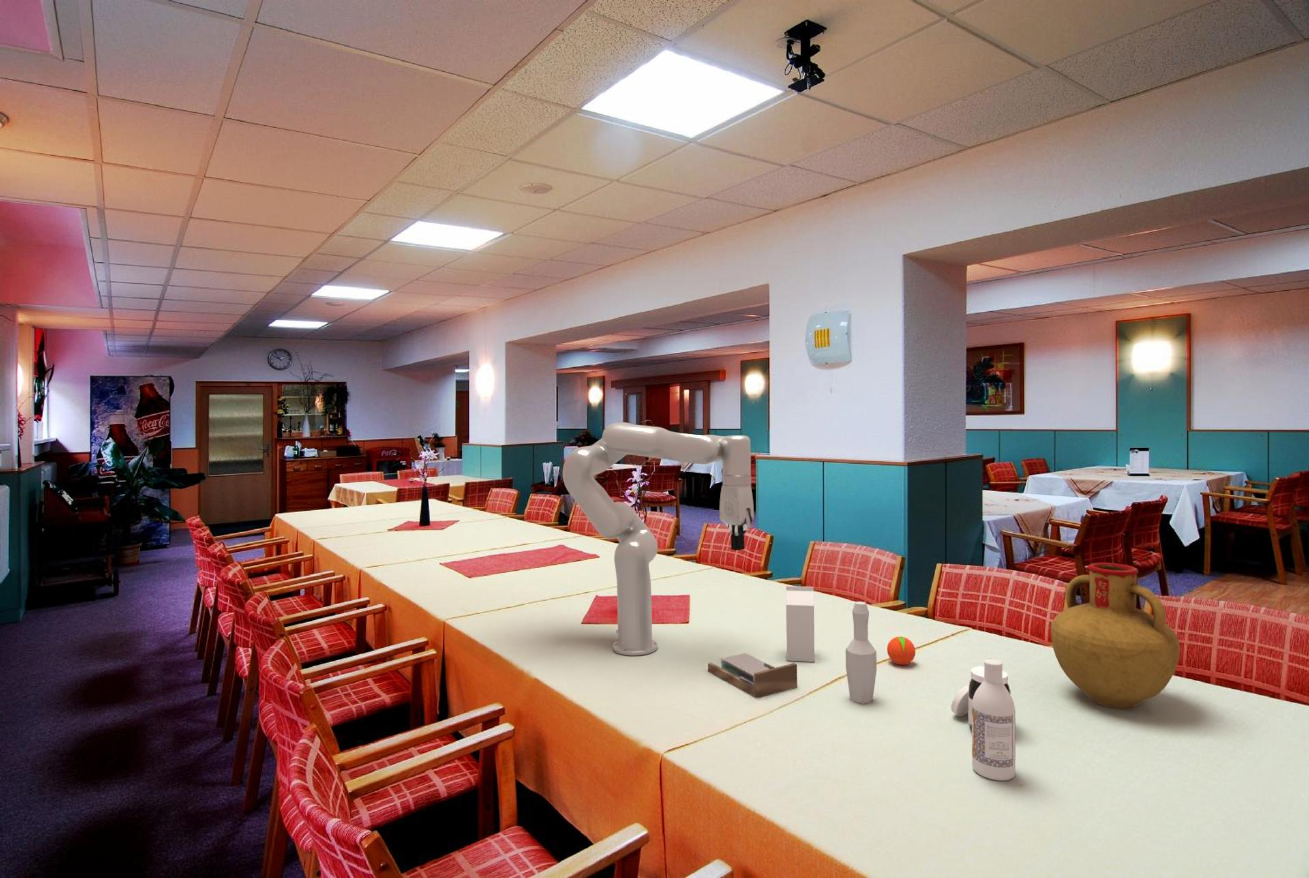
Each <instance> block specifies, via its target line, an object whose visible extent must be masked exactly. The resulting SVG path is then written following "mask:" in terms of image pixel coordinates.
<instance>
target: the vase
mask: <svg viewBox="0 0 1309 878" xmlns="http://www.w3.org/2000/svg"><path fill="white" fill-rule="evenodd" d="M1087 568H1088V571H1089V574H1082V575H1078V576H1076V577H1073V578H1072V579H1071V580H1070V582H1069V583H1068V584H1067V586H1066V590H1065V601H1066V605H1067V609H1064V610H1063V611H1061V612H1060V613H1058V614H1056V616H1054V618H1053V619H1052V622H1051V625H1050V636H1051V643H1052V645H1051V646H1052V649H1053V652H1054V655H1055V658H1056V660H1057V663H1058V664H1059V666H1060V668H1061V669H1062V671H1063V672H1064V674H1065V675H1066V677H1067V678H1068V679H1069V680H1070V681H1071V682H1072V683H1073V684H1074V685H1075V686H1076V687H1077V688H1078V689H1080V690H1081V691H1082V692H1083V693H1084V694H1086V695H1087V696H1088V698H1090V700H1092V701H1093V702H1095V703H1097V704H1099V705H1102V706H1105V707H1108V708H1109V707H1110V708H1113V709H1132V708H1134V707H1136V706H1138V705H1139V704H1141V703H1143V702H1145V701H1148V700H1150V699H1152V698H1154V697H1157V695H1159V694H1160V693H1161V692H1162V691H1163V690H1164V689H1165V688H1167V685H1168V684H1169V682H1170V681H1171V679H1172V677H1173V675H1174V674H1175V672H1176V669H1177V668H1178V667H1177V666H1178V663H1179V660H1180V653H1181V643H1180V640H1179V638H1178V636H1177V634H1176V632H1175V631H1174V630H1173V629H1172V628H1171V627H1170V626H1169V625H1168V624H1167V623H1166V619H1167V614H1166V610H1165V608H1164V605H1163V603H1162V601H1161V600H1160V599H1159V597H1158V596H1157V595H1156V594H1155V593H1154V592H1153V591H1151V590H1150V589H1148V588H1146V587H1144V586H1143V585H1139V584H1137V574H1138V573H1139V569H1138V568H1137V567H1134V566H1132V565H1128V564H1121V563H1115V562H1094V563H1090V564H1088V565H1087ZM1083 585H1089V602H1088V603H1087V602H1086V603H1081V604H1078V603H1077V597H1076V595H1077V591H1078V589H1079V588H1080V587H1081V586H1083ZM1137 596H1139V597H1141V598H1142V599H1144V600H1145V601H1146V602H1147V603H1148V604H1149V606H1150V607H1151V609H1152V613H1153V614H1151V613H1149V612H1147V611H1144V610H1142V609H1140V608H1137Z"/></svg>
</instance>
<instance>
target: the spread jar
mask: <svg viewBox="0 0 1309 878" xmlns="http://www.w3.org/2000/svg"><path fill="white" fill-rule="evenodd" d="M983 681H984V665H983V666H979V665H978V666H975V667H974V666H973V667H972V668H971V669H970V680H969V683H968V684H967V685H965V686H963V687H961V688H960V689H959V690H958V692H957V693H956V694H955V695H954V698H953V700H952V701H951V702H952V703H951V705H950V708H951V709H950V710H951V711H952V713H954V714H955V715H956V716H958V717H963V716H964V715H966V714H967V713H968V717H967V718H968V725H969V727H970V728H971V729H972V701H973V697H974V694H975V692H976V690H977V689H978V687H979V686H980V685H981V684H982V682H983ZM1002 683H1003V684H1004V686H1005V687H1006V689H1007V690H1008V692H1009V693H1010V695H1011V691H1012V690H1011V688H1010V685H1009V674H1008V672H1006V671H1005V670H1003V669H1002ZM1011 696H1012V695H1011Z"/></svg>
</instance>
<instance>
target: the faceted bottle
mask: <svg viewBox="0 0 1309 878" xmlns="http://www.w3.org/2000/svg"><path fill="white" fill-rule="evenodd" d="M869 618H870V611H869V609H868V605H867V602H865V601H856V602H854V605H853V608H852V620H853V621H852V622H853V638H852V640H850V643H849V644H848V645H847V646H846V647H845V672H846V677H847V684H848V692H849V699H851V700H852V701H853V702H854V703H858V704H861V705H862V704H870V703H871V702H872V701H874V694H875V693H874V692H875V685H876V677H877V667H878V666H877V661H878V660H877V650H876V649H875V647H874V645H873V644H872V643H871V641H870V640H869Z"/></svg>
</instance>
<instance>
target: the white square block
mask: <svg viewBox="0 0 1309 878" xmlns="http://www.w3.org/2000/svg"><path fill="white" fill-rule="evenodd" d="M765 663H766V662H765V661H762V662H761V663H757V664H753V665H749V666H744V667H740V668H739V677H743V678H745V679H747V680H749V681H751V682H753V683H754V673H756V672H760V671H764V670H768V669H769V668H767V667H765V666H764V664H765Z"/></svg>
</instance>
